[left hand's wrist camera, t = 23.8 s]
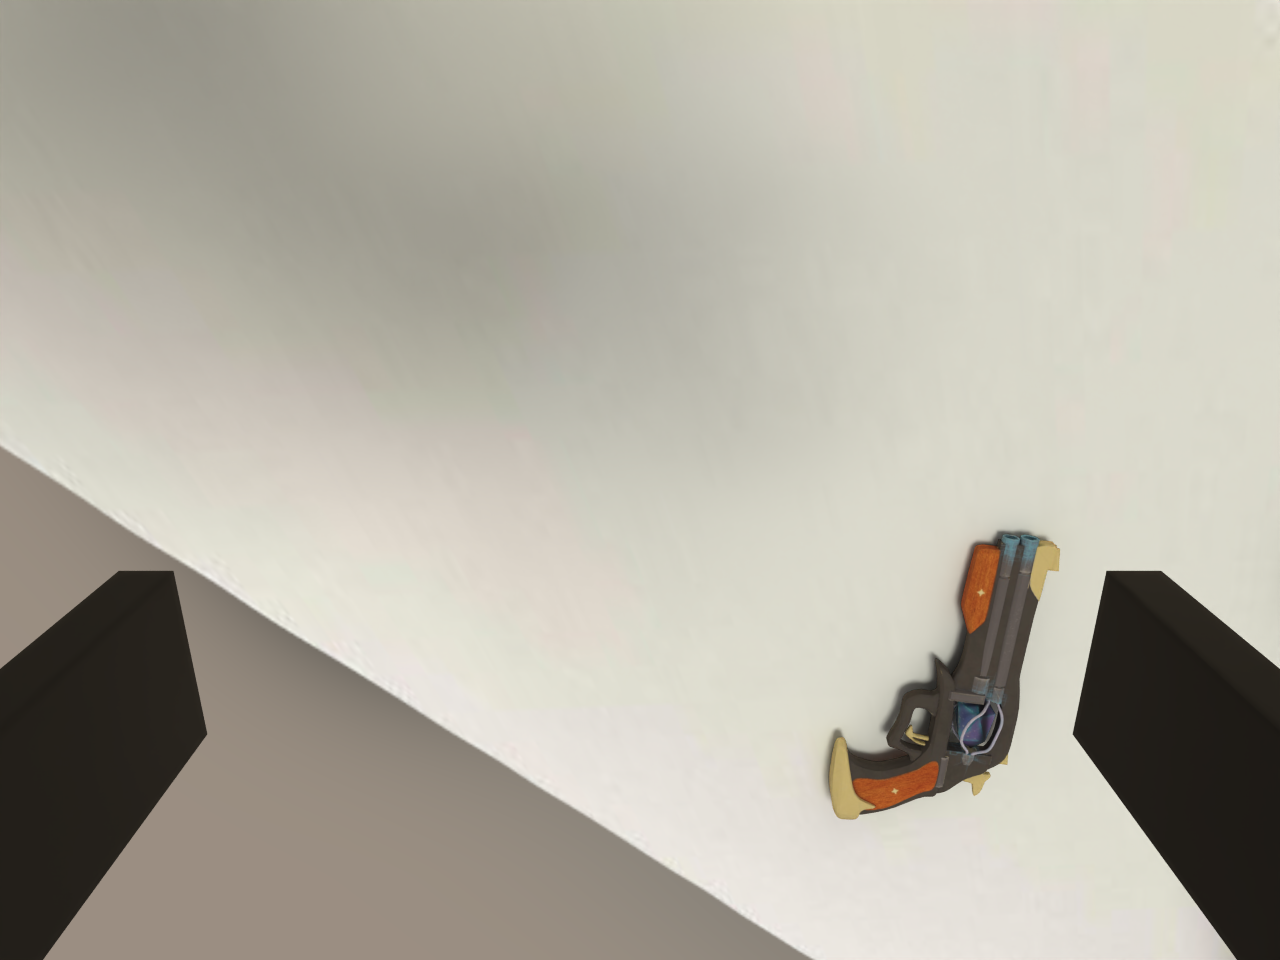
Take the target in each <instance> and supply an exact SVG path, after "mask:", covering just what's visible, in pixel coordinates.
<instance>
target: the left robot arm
mask: <svg viewBox="0 0 1280 960" xmlns="http://www.w3.org/2000/svg"><path fill="white" fill-rule="evenodd" d="M206 735H207V731H206V726H205V721H204V716H203V711H202V707H201V702H200V697H199V692H198V687H197V682H196V678H195V673H194V668H193V663H192V658H191V653H190V649H189V644H188V639H187V634H186V629H185V625H184V620H183V615H182V610H181V605H180V600H179V596H178V591H177V586H176V581H175V576H174V572H173V571H118V572H117V573H116V574H115V575H113V576H112V577H111V578H110V579H109V580H107V581H106V582H105V583H104V584H103V585H101V586H100V587H99V588H98V589H96V590H95V591H94V592H93V593H92V594H90V595H89V596H88V597H87V598H86V599H84V600H83V601H82V602H81V603H80V604H78V605H77V606H76V607H75V608H74V609H72V610H71V611H70V612H69V613H67V614H66V615H65V616H64V617H63V618H61V619H60V620H59V621H58V622H57V623H55V624H54V625H53V626H52V627H50V628H49V629H48V630H47V631H46V632H45V633H43V634H42V635H41V636H40V637H38V638H37V639H36V640H35V641H34V642H32V643H31V644H30V645H29V646H27V647H26V648H25V649H24V650H23V651H21V652H20V653H19V654H18V655H17V656H15V657H14V658H13V659H12V660H11V661H9V662H8V663H7V664H6V665H4V666H3V667H2V668H1V669H0V960H43V959H44V958H45V956H46V955H47V953H48V952H49V951H50V949H51V948H52V947H53V945H54V944H55V942H56V941H57V940H58V938H59V937H60V936H61V934H62V933H63V931H64V930H65V929H66V927H67V926H68V925H69V923H70V922H71V920H72V919H73V918H74V916H75V915H76V914H77V912H78V911H79V909H80V908H81V907H82V905H83V904H84V903H85V901H86V900H87V899H88V897H89V896H90V894H91V893H92V892H93V890H94V889H95V888H96V886H97V885H98V883H99V882H100V881H101V879H102V878H103V876H104V875H105V874H106V872H107V871H108V870H109V868H110V867H111V866H112V864H113V863H114V862H115V860H116V859H117V857H118V856H119V855H120V853H121V852H122V851H123V849H124V848H125V846H126V845H127V844H128V842H129V841H130V840H131V838H132V837H133V835H134V834H135V833H136V831H137V830H138V829H139V827H140V826H141V824H142V823H143V822H144V820H145V819H146V818H147V816H148V815H149V813H150V812H151V811H152V809H153V808H154V807H155V805H156V804H157V802H158V801H159V800H160V798H161V797H162V796H163V794H164V793H165V792H166V790H167V789H168V787H169V786H170V785H171V783H172V782H173V780H174V779H175V778H176V776H177V775H178V774H179V772H180V771H181V770H182V768H183V767H184V765H185V764H186V763H187V761H188V760H189V759H190V757H191V756H192V754H193V753H194V752H195V750H196V749H197V748H198V746H199V745H200V744H201V742H202V741H203V739H204V738H205V737H206ZM1073 735H1074V737H1075V738H1076V739H1077V741H1078V742H1079V744H1080V745H1081V746H1082V748H1083V749H1084V750H1085V752H1086V753H1087V754H1088V756H1089V757H1090V759H1091V760H1092V761H1093V763H1094V764H1095V765H1096V767H1097V768H1098V770H1099V771H1100V772H1101V774H1102V775H1103V776H1104V778H1105V779H1106V781H1107V782H1108V783H1109V785H1110V786H1111V787H1112V789H1113V790H1114V792H1115V793H1116V794H1117V796H1118V797H1119V798H1120V800H1121V801H1122V803H1123V804H1124V805H1125V807H1126V808H1127V809H1128V811H1129V812H1130V813H1131V815H1132V816H1133V818H1134V819H1135V820H1136V822H1137V823H1138V824H1139V826H1140V827H1141V829H1142V830H1143V831H1144V833H1145V834H1146V835H1147V837H1148V838H1149V840H1150V841H1151V842H1152V844H1153V845H1154V846H1155V848H1156V849H1157V851H1158V852H1159V853H1160V855H1161V856H1162V857H1163V859H1164V860H1165V862H1166V863H1167V864H1168V866H1169V867H1170V868H1171V870H1172V871H1173V872H1174V874H1175V875H1176V877H1177V878H1178V879H1179V881H1180V882H1181V883H1182V885H1183V886H1184V888H1185V889H1186V890H1187V892H1188V893H1189V894H1190V896H1191V897H1192V899H1193V900H1194V901H1195V903H1196V904H1197V905H1198V907H1199V908H1200V910H1201V911H1202V912H1203V914H1204V915H1205V916H1206V918H1207V919H1208V921H1209V922H1210V923H1211V925H1212V926H1213V927H1214V929H1215V930H1216V931H1217V933H1218V934H1219V936H1220V937H1221V938H1222V940H1223V941H1224V942H1225V944H1226V945H1227V947H1228V948H1229V949H1230V951H1231V952H1232V953H1233V955H1234V956H1235V958H1236V959H1237V960H1280V669H1279V668H1278V667H1277V666H1276V665H1274V664H1273V663H1272V662H1271V661H1269V660H1268V659H1267V658H1266V657H1265V656H1263V655H1262V654H1261V653H1260V652H1259V651H1257V650H1256V649H1255V648H1254V647H1253V646H1251V645H1250V644H1249V643H1248V642H1246V641H1245V640H1244V639H1243V638H1242V637H1240V636H1239V635H1238V634H1237V633H1236V632H1234V631H1233V630H1232V629H1231V628H1230V627H1228V626H1227V625H1226V624H1225V623H1223V622H1222V621H1221V620H1220V619H1219V618H1217V617H1216V616H1215V615H1214V614H1213V613H1211V612H1210V611H1209V610H1208V609H1207V608H1205V607H1204V606H1203V605H1202V604H1200V603H1199V602H1198V601H1197V600H1196V599H1194V598H1193V597H1192V596H1191V595H1190V594H1188V593H1187V592H1186V591H1185V590H1184V589H1182V588H1181V587H1180V586H1179V585H1177V584H1176V583H1175V582H1174V581H1173V580H1171V579H1170V578H1169V577H1168V576H1167V575H1165V574H1164V573H1163V572H1162V571H1106V576H1105V581H1104V586H1103V591H1102V596H1101V600H1100V605H1099V610H1098V615H1097V620H1096V625H1095V629H1094V634H1093V639H1092V644H1091V649H1090V653H1089V658H1088V663H1087V668H1086V673H1085V678H1084V682H1083V687H1082V692H1081V697H1080V702H1079V706H1078V711H1077V716H1076V721H1075V726H1074V731H1073Z"/></svg>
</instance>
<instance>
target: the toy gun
mask: <svg viewBox="0 0 1280 960" xmlns="http://www.w3.org/2000/svg"><path fill="white" fill-rule="evenodd" d="M1059 556H1060V549H1059V548H1057V546H1056V545H1055V544H1054V543H1053V542H1051V541H1040V539H1039V538H1037V537H1035V536H1031V535H1021V536H1020V538H1019V537H1017V536H1014V535H1010V534H1004V535H1003V536H1002V539H998V544H997V546H993V545H984V544H981V545H977V546H976V547H975V549H974V553H973V557H972V561H971V564H970V568H969V572H968V576H967V580H966V584H965V588H964V592H963V596H962V600H961V607H962V611H963V615H964V619H965V623H966V627H967V635H966V639H965V644H964V648H963V652H962V656H961V659H960V661H959V663H958V665H957V667H956V669H955V670H954V672H953V673H952V674H950V672H949V670H948V669H947V667H946V666H945V665H944V664H943V663H942V662H941V661H940V660H938V659H937V658H936V659H935V663H936V669H937V688H936V689H934V690H931V691H930V690H924V689H916V690H912V691H910V692H907V693H906V694H905V695H904V696H903V699H902V704H901V708H900V712H899V715H898V717H897V719H896V721H895V723H894V725H893V726H892V728H891V730H890V731H889V733H888V735H887V737H886V739H887V742H888V745H889V746H890V747H893V748H896V749H899V750H902V751H904V752H906V753H908V755H906V756H903V757H900V758H895V759H891V760H886V761H881V762H874V761H869V760H865V759H862V758H859V757H856V756H854V755H852V754H851V753H850V752H849V751H848V750H847V744H846V741H845V739H844V738H843V737H840V738H837V740H836V741H835V744H834V749H833V753H832V759H831V765H830V773H829V784H830V793H831V799H832V806H833V810H834V812H835V814H836V816H837V817H838V818H840V819H856V818H857V817H858V816H859V815H860V814H868V813H874V812H879V811H883V810H887V809H891V808H894V807H897V806H899V805H902V804H904V803H907V802H909V801H912V800H915V799H917V798H921V797H933V796H935V795H936V793H941V792H945V791H947V790H949V789H950V788H952V787H953V786H955V785H956V784H958V783H959V782H961V781H965V782H970V783H971V784H972V792H973V795H974V796H975V795H977V794H978V793H979V792H980V791H981V789H982V787H983V785H984V782H985V781H986V780H988V779H989V778H990V773H989V772H986V771H987V769H990V768H992V767H994V766H996V765H998V764H1005V765H1007V761H1008V752H1009V749H1010V746H1011V742H1012V738H1013V734H1014V730H1015V725H1016V721H1017V716H1018V710H1019V698H1020V682H1019V679H1020V673H1021V669H1022V664H1023V660H1024V656H1025V652H1026V648H1027V643H1028V639H1029V635H1030V631H1031V627H1032V623H1033V618H1034V615H1035V611H1036V608H1037V604H1038V601H1039V600H1040V596H1041V593H1042V589H1043V585H1044V581H1045V578H1046V574H1047V570H1052V571H1059ZM987 699H988V700H987ZM954 701H958V703H956V704H955V705H954ZM990 701H992V702H994V703H997V707H998V715H997V719H996V723H995V728H994V730H993V733H992V735H991V737H990V739H989V741H988V742H987V743H986V744H985V745H984V746H978V745H979V744H981V743H983V742H985V740H986V738H987V735H988V733H989V731H990V728H991V726H992V723H993V721H994V718H995V715H996V714H995V712H994V711H993V709H992V707H991V705H990ZM915 708H924V709H926V710H928V711H929V712H930V713H931V714H932V715H931V720H930V725H929V729H928V734H927V736H925V735H920V734H915V733H913V729H912V725H910V726H909V727H908V725H909V723H910V720H911V717H912V714H913V711H914V709H915ZM955 708H956V710H955V713H956V721H957V730H958V734H957V733H956V731H955V729H954V725H953V713H954V709H955ZM907 727H908V728H907ZM951 727H952V730H953V733H954V734H955V736H956V737H957V738H958V739H959V741H960V742H959V743H956V742H949V741H948V740H949V736H950V731H951ZM906 728H907V729H906ZM905 730H906V731H905ZM904 732H905V734H906V735H907V736H908V737H909V738H910V739H911V740H912V741H914V742H915V743H918V744H920V745H915V744H910V743H907V742H905V741H903V740H902V739H901V738H902V736H903V734H904ZM913 737H915V738H918V739H923V740H924V742H923V741H919V740H916V739H914V738H913Z"/></svg>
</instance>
